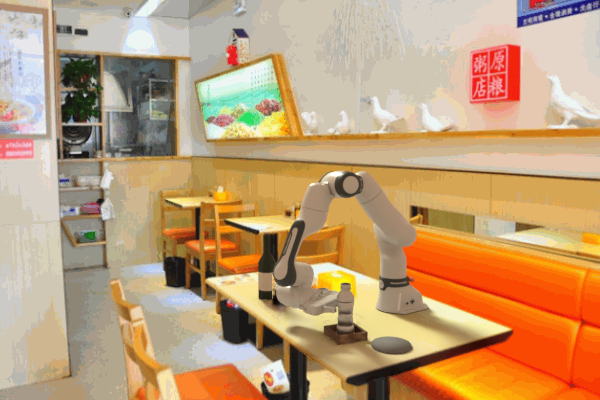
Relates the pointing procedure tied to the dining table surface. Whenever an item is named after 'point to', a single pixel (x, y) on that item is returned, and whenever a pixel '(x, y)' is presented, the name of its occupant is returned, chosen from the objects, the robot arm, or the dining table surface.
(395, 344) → the serving mat
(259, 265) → the wine bottle
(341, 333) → the plastic bottle
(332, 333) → the bottle holder
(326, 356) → the dining table surface
